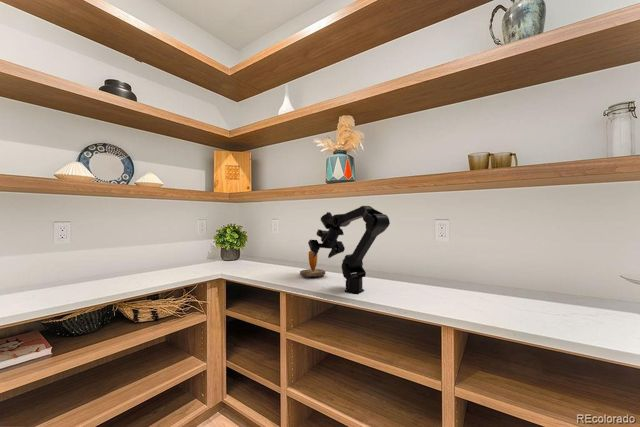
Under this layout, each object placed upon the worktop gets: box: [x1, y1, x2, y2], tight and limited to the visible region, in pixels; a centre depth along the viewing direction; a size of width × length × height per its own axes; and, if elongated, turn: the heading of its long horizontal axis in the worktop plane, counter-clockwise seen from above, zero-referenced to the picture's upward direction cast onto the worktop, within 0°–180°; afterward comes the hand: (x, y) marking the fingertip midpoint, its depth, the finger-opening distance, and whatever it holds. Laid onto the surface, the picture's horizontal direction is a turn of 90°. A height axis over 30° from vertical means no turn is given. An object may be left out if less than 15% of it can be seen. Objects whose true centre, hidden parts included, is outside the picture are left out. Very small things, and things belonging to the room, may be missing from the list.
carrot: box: [308, 250, 318, 271], centre depth 147 cm, size 5×5×15 cm
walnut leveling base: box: [299, 268, 326, 279], centre depth 147 cm, size 14×14×3 cm
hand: (320, 257), depth 139 cm, fingers open, 9 cm apart
